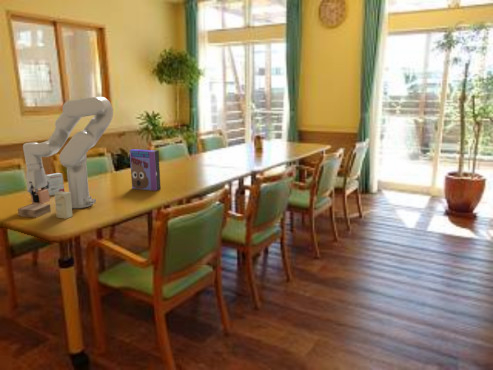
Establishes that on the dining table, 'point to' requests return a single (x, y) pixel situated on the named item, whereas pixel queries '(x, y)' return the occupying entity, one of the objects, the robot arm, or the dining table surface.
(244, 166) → the dining table surface
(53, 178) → the ink box
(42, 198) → the terracotta cube
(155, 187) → the cereal box
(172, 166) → the dining table surface
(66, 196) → the skincare box
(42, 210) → the walnut block
